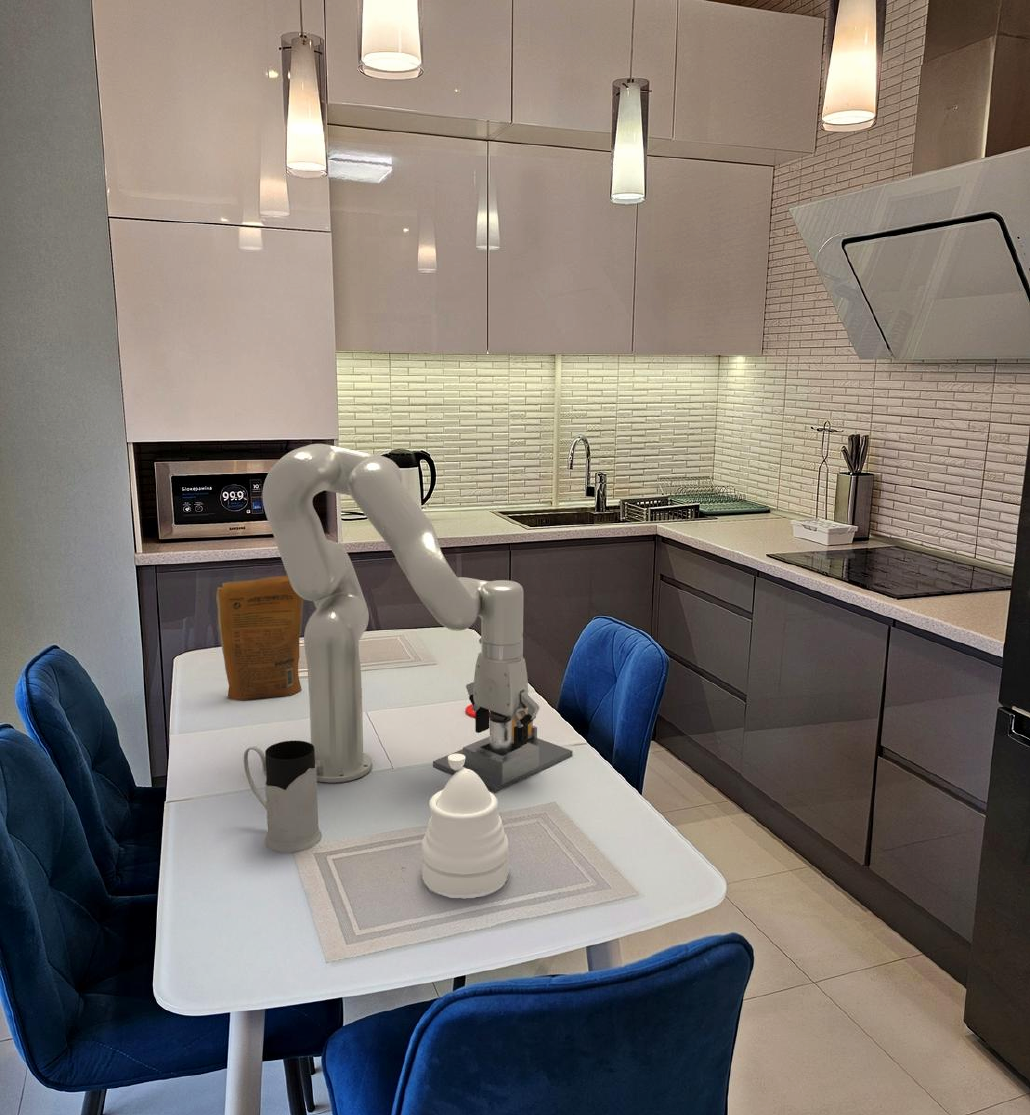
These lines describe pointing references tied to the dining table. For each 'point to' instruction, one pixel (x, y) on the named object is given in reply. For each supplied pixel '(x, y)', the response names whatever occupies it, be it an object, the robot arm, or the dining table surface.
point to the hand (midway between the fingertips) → (501, 737)
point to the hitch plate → (544, 762)
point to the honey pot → (464, 837)
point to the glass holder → (289, 795)
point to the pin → (500, 733)
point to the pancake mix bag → (260, 637)
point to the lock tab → (516, 725)
